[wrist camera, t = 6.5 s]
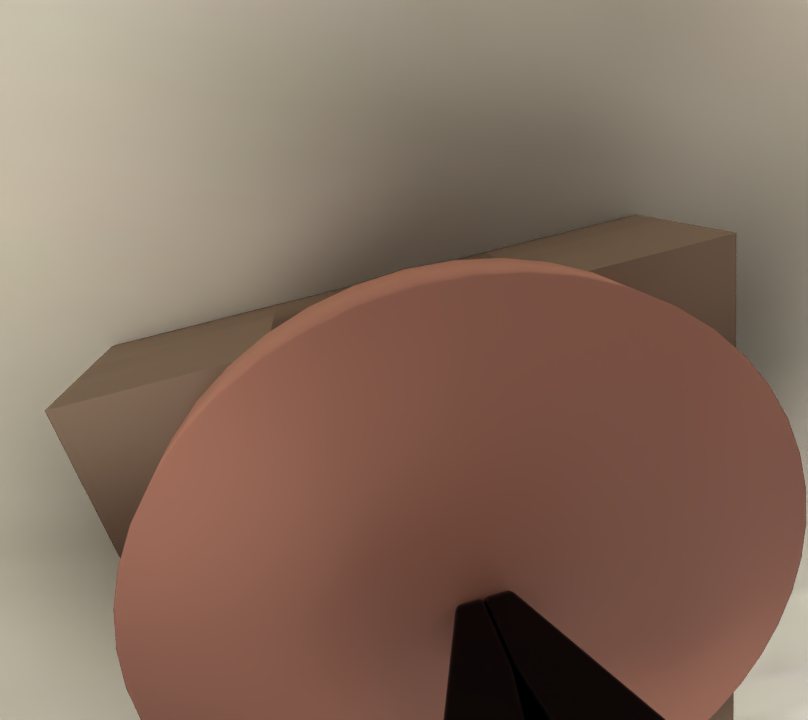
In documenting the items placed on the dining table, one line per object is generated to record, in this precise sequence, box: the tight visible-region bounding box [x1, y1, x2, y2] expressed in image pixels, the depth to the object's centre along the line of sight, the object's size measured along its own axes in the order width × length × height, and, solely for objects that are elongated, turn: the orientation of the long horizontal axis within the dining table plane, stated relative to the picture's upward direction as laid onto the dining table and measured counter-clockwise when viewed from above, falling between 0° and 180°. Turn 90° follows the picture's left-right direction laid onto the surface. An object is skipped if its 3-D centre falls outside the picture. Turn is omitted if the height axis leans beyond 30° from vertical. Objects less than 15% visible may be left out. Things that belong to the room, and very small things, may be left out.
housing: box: [45, 215, 736, 720], centre depth 14 cm, size 22×11×3 cm, turn 12°
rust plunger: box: [114, 258, 806, 720], centre depth 10 cm, size 10×10×4 cm
